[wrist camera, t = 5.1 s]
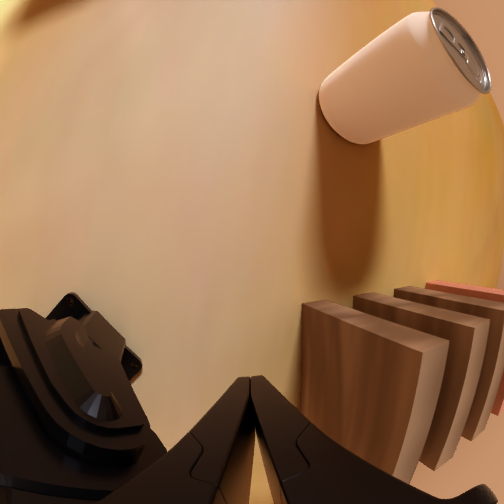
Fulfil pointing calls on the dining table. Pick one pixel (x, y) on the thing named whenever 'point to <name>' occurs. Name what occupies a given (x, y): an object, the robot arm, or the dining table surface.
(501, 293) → the tile
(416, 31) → the can
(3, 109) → the dining table surface
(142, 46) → the dining table surface
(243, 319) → the dining table surface
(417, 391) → the tile
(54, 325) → the robot arm
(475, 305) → the tile
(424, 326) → the tile
